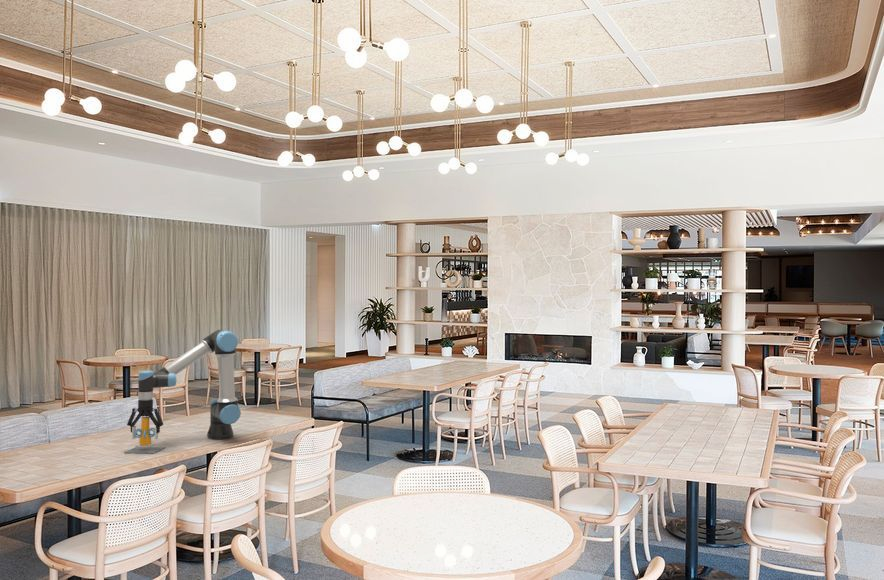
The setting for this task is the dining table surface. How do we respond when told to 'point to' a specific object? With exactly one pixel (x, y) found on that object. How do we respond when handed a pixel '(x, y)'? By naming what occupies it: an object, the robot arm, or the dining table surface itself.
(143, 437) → the orange hollow ringed part
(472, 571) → the dining table surface
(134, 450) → the card
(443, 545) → the dining table surface
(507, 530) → the dining table surface
